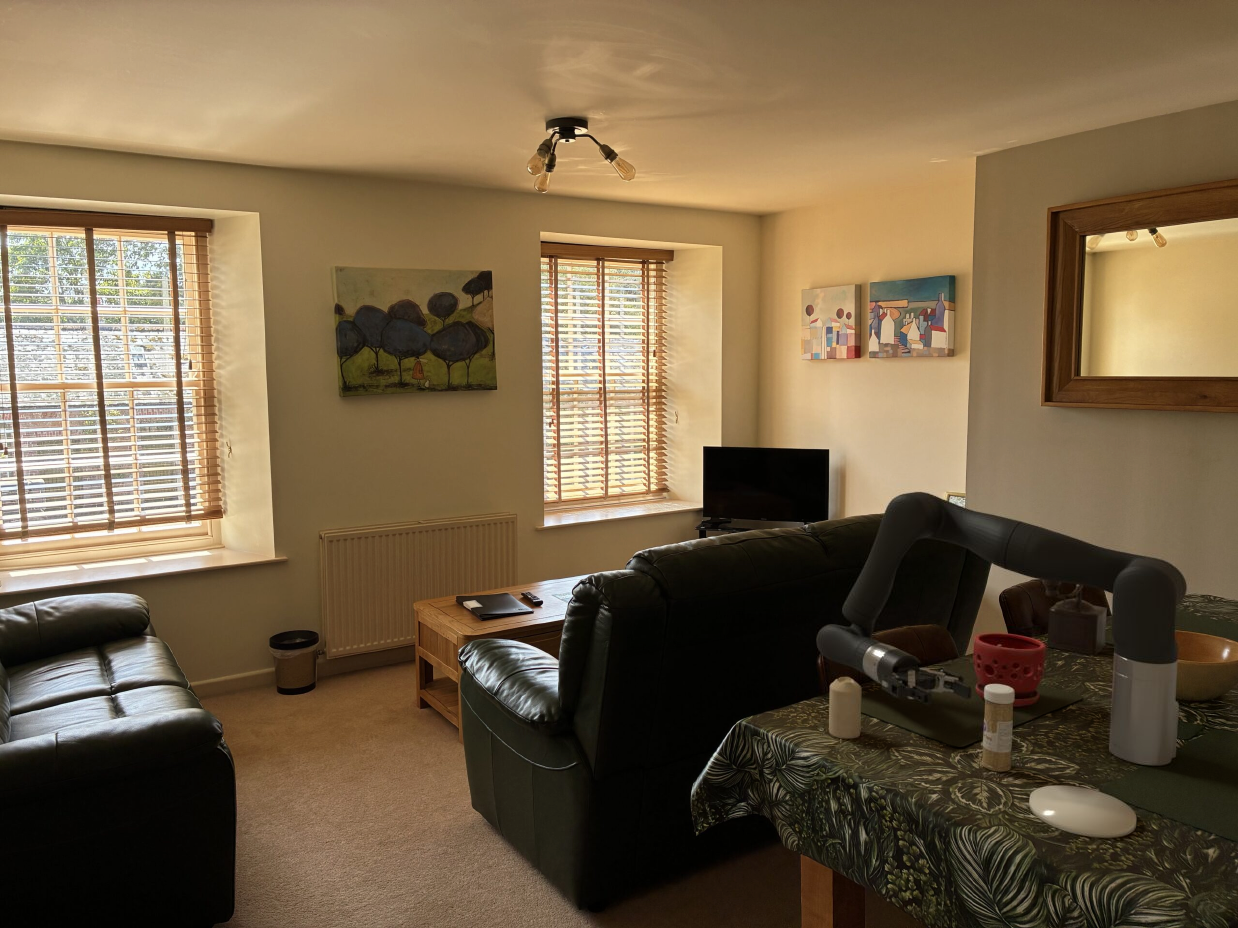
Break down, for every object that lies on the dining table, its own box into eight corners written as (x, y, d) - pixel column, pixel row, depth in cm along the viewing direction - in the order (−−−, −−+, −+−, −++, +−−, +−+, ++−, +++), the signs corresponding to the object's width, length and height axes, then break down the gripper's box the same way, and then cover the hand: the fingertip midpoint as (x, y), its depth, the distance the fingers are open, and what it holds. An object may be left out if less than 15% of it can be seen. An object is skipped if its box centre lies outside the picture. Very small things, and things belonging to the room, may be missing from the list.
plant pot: (1052, 712, 174) (1055, 651, 173) (980, 708, 176) (982, 648, 175) (1032, 688, 187) (1035, 631, 185) (965, 685, 189) (967, 629, 187)
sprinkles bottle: (976, 761, 152) (979, 683, 151) (1002, 760, 153) (1005, 682, 151) (990, 773, 148) (993, 692, 146) (1016, 772, 148) (1020, 691, 147)
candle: (861, 740, 161) (862, 685, 160) (829, 737, 162) (830, 683, 161) (859, 728, 167) (860, 674, 166) (828, 725, 168) (829, 673, 167)
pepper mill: (1056, 637, 223) (1059, 564, 221) (1106, 645, 215) (1110, 570, 214) (1036, 652, 211) (1039, 575, 209) (1088, 661, 204) (1092, 582, 202)
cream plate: (1078, 785, 143) (1078, 779, 143) (1159, 826, 130) (1159, 820, 130) (1008, 800, 138) (1008, 794, 138) (1084, 845, 125) (1084, 838, 125)
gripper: (861, 652, 172) (917, 680, 157) (923, 644, 177) (983, 670, 162) (859, 691, 173) (915, 722, 158) (921, 682, 178) (981, 711, 163)
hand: (950, 696), depth 160 cm, fingers open, 8 cm apart
